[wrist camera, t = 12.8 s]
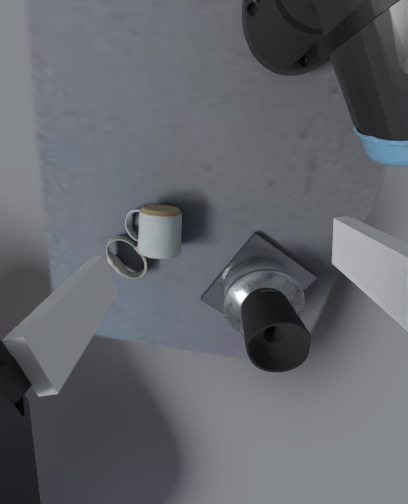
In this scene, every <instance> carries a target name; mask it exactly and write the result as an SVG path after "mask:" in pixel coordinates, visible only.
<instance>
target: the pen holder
mask: <svg viewBox="0 0 408 504" xmlns="http://www.w3.org/2000/svg"><path fill="white" fill-rule="evenodd" d="M241 317H242V324H243V331H244V338H245V344H246V350H247V354H248V356H249V358H250V360H251V362H252V363H253V364H254V365H255V366H256V367H258V368H259V369H262V370H264V371H268V372H284V371H289V370H292V369H294V368H296V367H298V366H299V365H301V364H302V363H303V362H304V361H305V360H306V358H307V356H308V353H309V348H310V340H311V336H310V334H309V332H308V330H307V329H306V327H305V325H304V324H303V322H302V321H301V319H300V317H299V316H298V314H297V313H296V311H295V310H294V308H293V306H292V305H291V303H290V302H289V300H288V299H287V297H286V296H285V295H284V294H283V293H282V292H280V291H279V290H276V289H273V288H260V289H257V290H255V291H252V292H251V293H249V294H248V295H247V296H246V297H245V299H244V300H243V302H242V305H241Z"/></svg>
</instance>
